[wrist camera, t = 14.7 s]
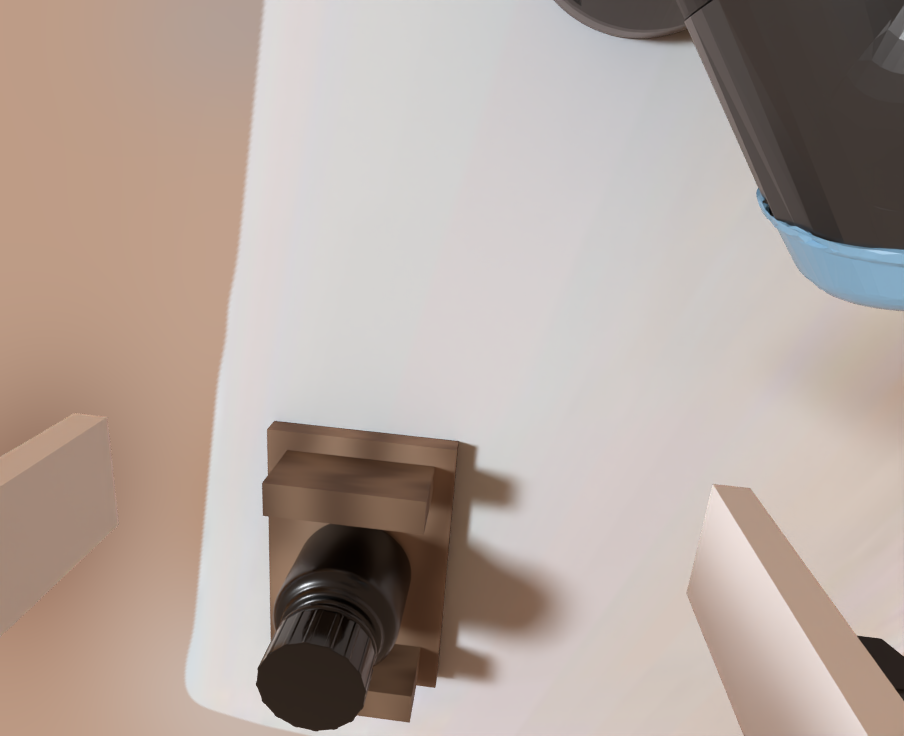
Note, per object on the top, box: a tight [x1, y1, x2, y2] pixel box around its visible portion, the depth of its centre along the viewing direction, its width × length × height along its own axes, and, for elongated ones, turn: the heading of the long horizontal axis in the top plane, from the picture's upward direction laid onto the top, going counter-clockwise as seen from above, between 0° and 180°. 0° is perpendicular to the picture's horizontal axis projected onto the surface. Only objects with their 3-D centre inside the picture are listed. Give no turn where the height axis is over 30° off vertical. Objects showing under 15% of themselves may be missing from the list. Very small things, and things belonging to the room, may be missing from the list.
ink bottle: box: [256, 524, 411, 731], centre depth 44 cm, size 10×9×12 cm
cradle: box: [262, 421, 458, 722], centre depth 48 cm, size 14×22×6 cm, turn 175°
